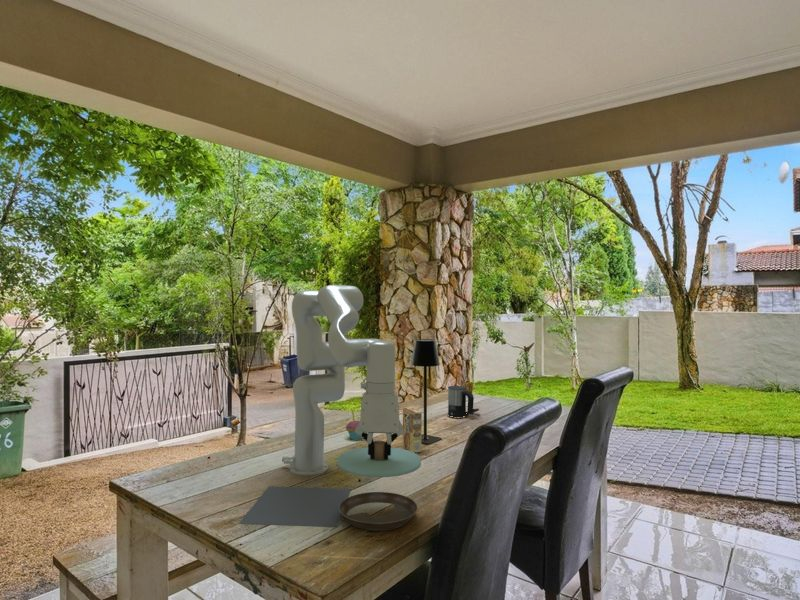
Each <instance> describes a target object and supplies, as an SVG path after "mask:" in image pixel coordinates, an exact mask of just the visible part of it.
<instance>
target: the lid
mask: <svg viewBox="0 0 800 600" xmlns="http://www.w3.org/2000/svg"><path fill="white" fill-rule="evenodd" d="M373 441H374V450H373V459H370V455H368V446H365V447H359V448H354V449H350V450H347V451H345V452H342V453H341V454H340V455H338V457H337V460H336V465H337V467H338V469H340V470H341V471H343V472H345V473H347V474H351V475H354V476H360V477H365V478H366V477H368V478H392V477H400V476H403V475H408V474H411V473H414V472H415V471H417V470H418V469H420V468H421V466H422V459H421V457H420V456H419V455H418V454H417V452H416V453H414V452H411V451H408V450H407V449H405V448H399V447H392V446H391V456H388V460H386V459H385V444H386V440H383V439H382V440H373Z"/></svg>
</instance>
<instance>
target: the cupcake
mask: <svg viewBox="0 0 800 600" xmlns="http://www.w3.org/2000/svg"><path fill="white" fill-rule="evenodd" d="M351 415H352V421H350V422H348V423H347V424H346V426H345V429H346V431H347V432H348V435H349V439H350V440H352V441H359V440H362V438H363V437H362V436H361V435H359V434H357V433H355V429H356V427H357V425H358V424H359V422H360V420H359V421H358V420H355V413H354V410H353V409H351Z"/></svg>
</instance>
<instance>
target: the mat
mask: <svg viewBox="0 0 800 600" xmlns="http://www.w3.org/2000/svg"><path fill="white" fill-rule="evenodd" d="M351 491H352V488H337V487H336V488H333V487H329V488H328V487H306V486H305V487H304V486H302V487H301V486H278V485H277V486H274V485H273V486H269V485H268V487H267V488H266V489H265V490H264V492H263V493H262V494H261V496H259V498H258V499H257V500H256V502H254V504H253V505H252V507H250V509H249V510H248V511H247V513H246V514H245V515H244V516H243V518H242V519H240V522H238V524H239V525H262V526H263V525H264V526H288V527H289V526H290V527H293V526H295V527H316V528H317V527H318V528H338V527H339V524H340V522H341V519H342V517H343V516H342V515H341V513H340V511H339V505H340V503H341V502H342V501H343V500H345V499H346V498H348V497H350V494H351Z"/></svg>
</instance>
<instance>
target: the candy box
mask: <svg viewBox="0 0 800 600" xmlns="http://www.w3.org/2000/svg"><path fill="white" fill-rule="evenodd" d="M422 414H423V413H422V411H420V410H418V409H415V408H413V407H404V408H403V407H402V426H403V428H404V430H405V433H404V434H403V435H402V448H403V449H404V450H408V451H411V452H414V453H415V452H416V453H421V452H422V433H423V431H422V426H423V425H422V424H423V423H422V420H423V419H422V418H423V417H422Z"/></svg>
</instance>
